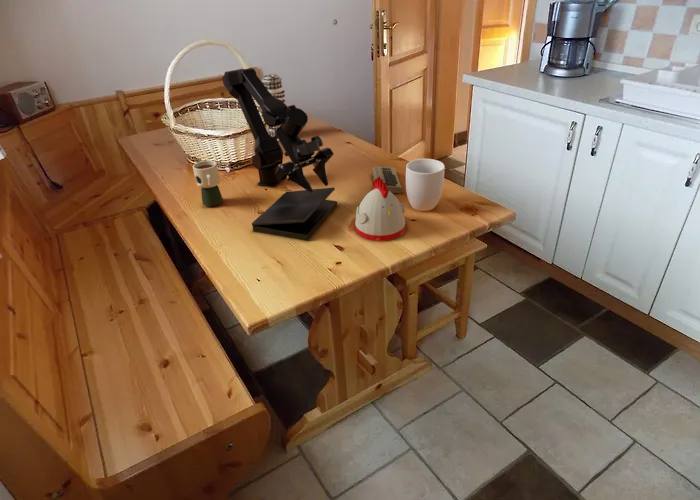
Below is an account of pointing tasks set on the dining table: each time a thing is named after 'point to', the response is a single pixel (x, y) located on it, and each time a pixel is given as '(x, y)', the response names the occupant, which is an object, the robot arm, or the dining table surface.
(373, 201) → the kitchen timer
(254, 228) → the laptop
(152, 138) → the dining table surface
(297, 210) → the laptop screen
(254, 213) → the dining table surface
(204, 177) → the character mug
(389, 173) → the computer
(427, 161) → the mug
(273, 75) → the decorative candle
